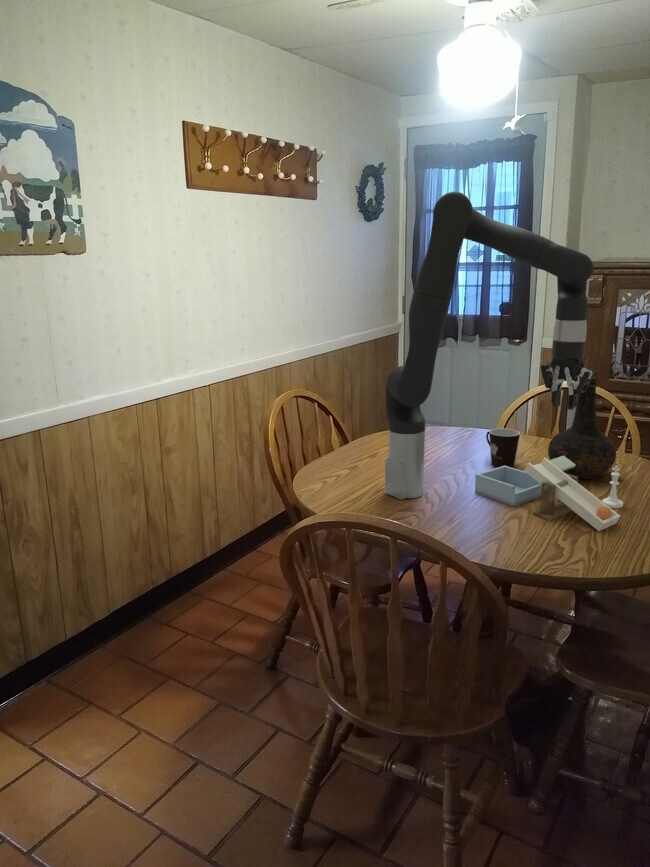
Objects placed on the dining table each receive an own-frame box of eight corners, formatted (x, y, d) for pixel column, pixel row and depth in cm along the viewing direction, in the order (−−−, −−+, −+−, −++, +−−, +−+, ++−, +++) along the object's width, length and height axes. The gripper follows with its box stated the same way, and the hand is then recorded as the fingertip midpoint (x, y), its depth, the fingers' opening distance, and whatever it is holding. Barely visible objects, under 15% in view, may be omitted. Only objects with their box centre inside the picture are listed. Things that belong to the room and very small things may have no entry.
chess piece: (605, 499, 168) (609, 461, 165) (625, 503, 165) (629, 465, 162) (598, 505, 164) (602, 466, 161) (619, 509, 161) (623, 470, 158)
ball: (604, 524, 150) (608, 511, 148) (592, 517, 152) (595, 505, 151) (612, 520, 151) (615, 508, 150) (599, 514, 154) (603, 502, 152)
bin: (514, 506, 164) (515, 487, 163) (474, 492, 174) (475, 474, 172) (543, 495, 171) (544, 477, 169) (503, 482, 180) (504, 465, 179)
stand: (582, 507, 163) (585, 476, 161) (550, 520, 155) (552, 488, 153) (564, 501, 167) (566, 471, 164) (532, 514, 159) (534, 482, 157)
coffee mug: (521, 469, 191) (523, 436, 188) (491, 469, 191) (492, 436, 188) (511, 457, 202) (513, 425, 199) (482, 457, 202) (484, 425, 200)
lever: (636, 514, 158) (641, 506, 157) (598, 531, 149) (603, 523, 148) (562, 458, 172) (566, 450, 170) (523, 470, 163) (527, 463, 161)
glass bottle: (600, 464, 195) (609, 369, 187) (624, 485, 177) (636, 382, 170) (538, 464, 195) (545, 370, 188) (557, 485, 178) (565, 382, 171)
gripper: (534, 337, 164) (530, 405, 168) (587, 342, 153) (580, 415, 157) (553, 334, 168) (548, 400, 173) (605, 339, 157) (598, 410, 162)
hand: (563, 407), depth 165 cm, fingers open, 3 cm apart
